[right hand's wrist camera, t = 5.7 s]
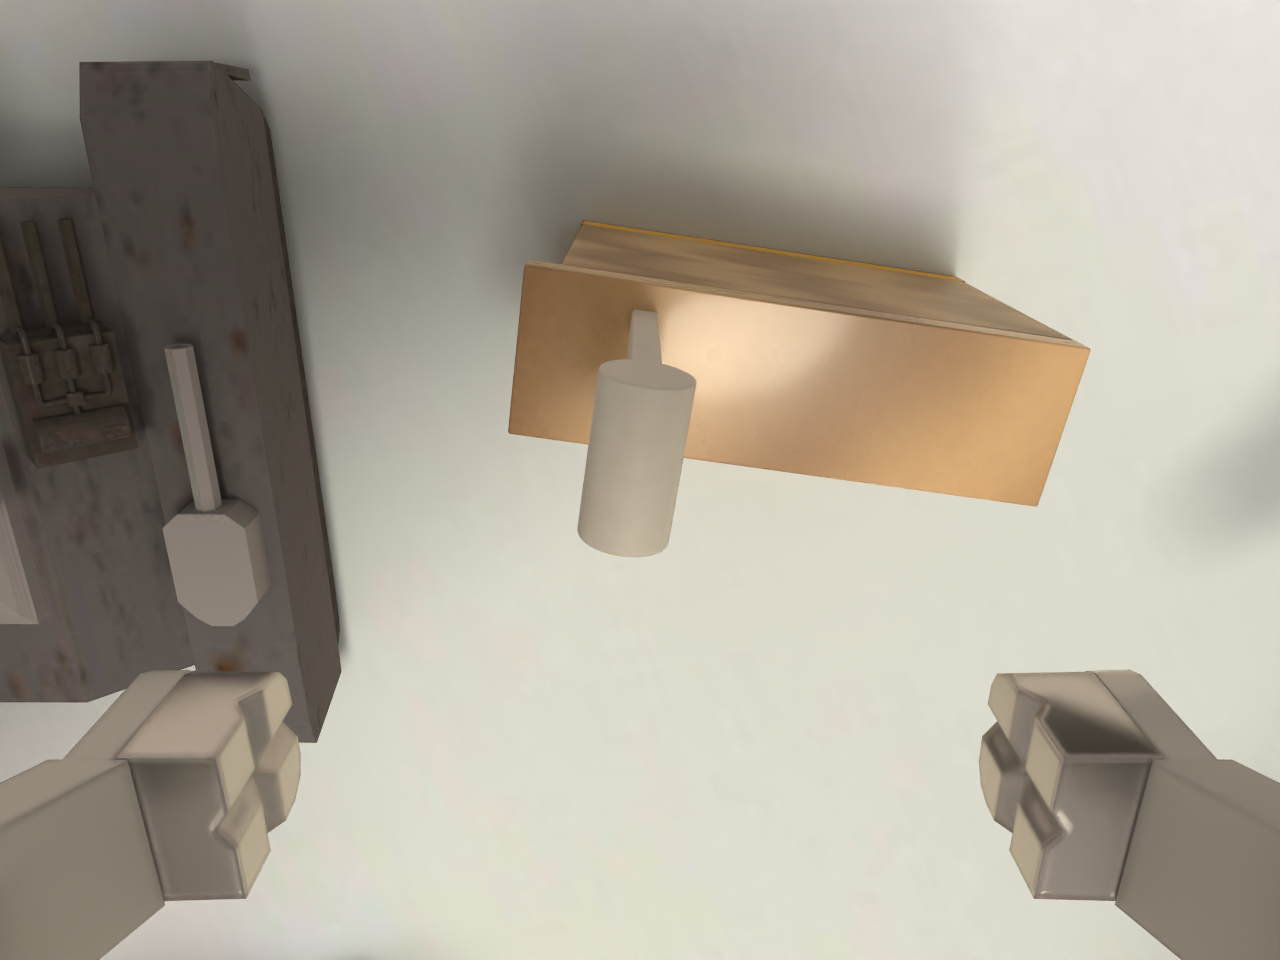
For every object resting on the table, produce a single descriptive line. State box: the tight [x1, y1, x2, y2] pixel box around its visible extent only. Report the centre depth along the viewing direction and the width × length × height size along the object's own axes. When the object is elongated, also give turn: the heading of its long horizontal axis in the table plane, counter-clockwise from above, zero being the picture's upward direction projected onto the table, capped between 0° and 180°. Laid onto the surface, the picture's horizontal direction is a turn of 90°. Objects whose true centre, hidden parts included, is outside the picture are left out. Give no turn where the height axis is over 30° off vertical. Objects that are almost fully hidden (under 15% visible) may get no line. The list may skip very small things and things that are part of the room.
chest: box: [562, 221, 1072, 340], centre depth 31 cm, size 15×5×10 cm, turn 82°
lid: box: [508, 260, 1090, 557], centre depth 22 cm, size 15×5×9 cm, turn 82°
